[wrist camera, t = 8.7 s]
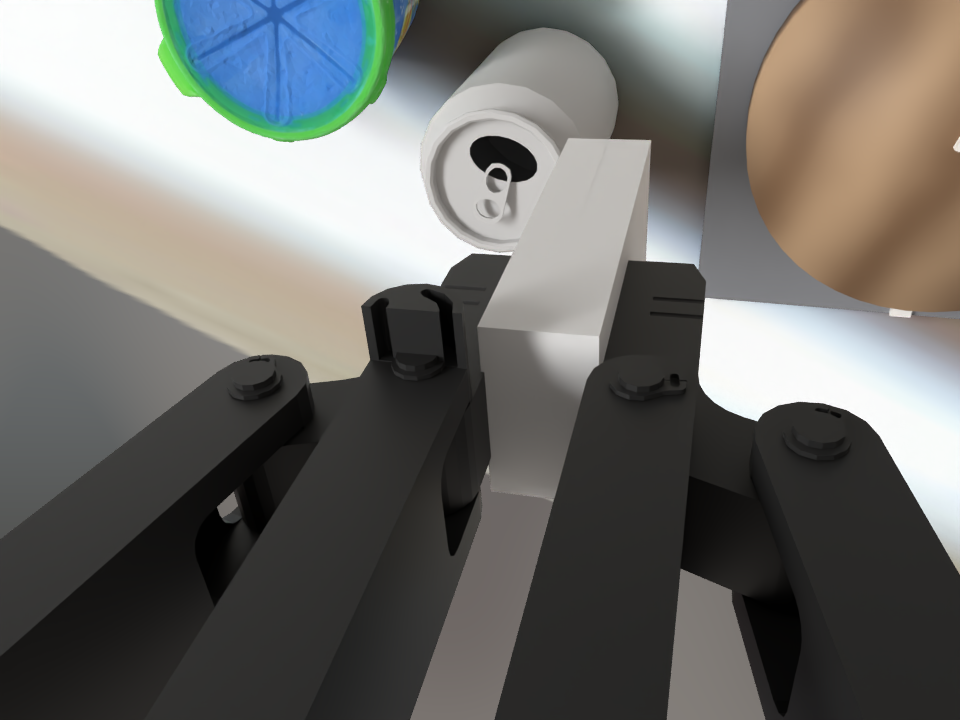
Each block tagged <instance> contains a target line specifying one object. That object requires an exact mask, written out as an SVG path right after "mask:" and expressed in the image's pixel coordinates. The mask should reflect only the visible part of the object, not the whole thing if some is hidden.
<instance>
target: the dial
mask: <svg viewBox="0 0 960 720" xmlns="http://www.w3.org/2000/svg"><path fill="white" fill-rule="evenodd" d="M746 154H747V171H748V176H749V181H750V186H751V191H752V194H753V197H754V200H755V203H756V206H757V209H758V211H759V214H760V216H761V217H762V219H763V221H764V223H765V225H766V227H767V229H768V231H769V232H770V234H771V235H772V237H773V238H774V239H775V241H776V242H777V243H778V245H779V246H780V247H781V249H782V250H783V251H784V252H785V253H786V254H787V255H788V256H789V257H790V258H791V259H792V260H793V261H794V262H795V263H796V264H797V265H798V266H799V267H800V268H802V269H803V270H804V271H805V272H807V273H808V274H809V275H811V276H812V277H813V278H815V279H816V280H818V281H819V282H821V283H823V284H825V285H826V286H828V287H830V288H832V289H833V290H835V291H837V292H840V293H842V294H844V295H847V296H849V297H852V298H854V299H856V300H859V301H863V302H866V303H870V304H874V305H877V306H881V307H886V308H892V309H898V310H904V311H919V312H948V311H960V0H800V1H799V2H798V4H797V5H796V6H795V7H794V8H793V10H792V11H791V12H790V14H789V15H788V17H787V18H786V20H785V21H784V23H783V24H782V26H781V27H780V29H779V30H778V31H777V33H776V35H775V37H774V39H773V41H772V42H771V44H770V46H769V48H768V50H767V52H766V54H765V56H764V58H763V61H762V63H761V66H760V69H759V71H758V74H757V77H756V79H755V82H754V86H753V90H752V94H751V99H750V103H749V108H748V118H747V129H746Z"/></svg>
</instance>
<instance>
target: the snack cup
mask: <svg viewBox="0 0 960 720" xmlns="http://www.w3.org/2000/svg"><path fill="white" fill-rule="evenodd" d="M418 5H419V0H155V7H156V12H157V17H158V21H159V25H160V28H161V31H162V34H163V37H164V38H163V40H162V42H161V44H160V46H159V49H158V56H159V58H160V60H161V62H162V64H163V66H164V68H165V69H166V71H167V73H168V74H169V76H170V78H171V79H172V81H173V82H174V84H175V85H176V87H177V88H178V89H179V90H180V92H181V93H182V94H183V95H185V96H189V97H201V98H202V99H203V100H204V101H205V102H206V103H207V104H208V105H210V106H211V107H212V108H213V109H214V110H215V111H216V112H218V113H219V114H221V115H222V116H223V117H225V118H226V119H228V120H229V121H230V122H232V123H234V124H235V125H237V126H239V127H241V128H243V129H245V130H247V131H250V132H252V133H255V134H258V135H261V136H263V137H268V138H272V139H273V140H276V141H282V142H294V141H300V140H308V139H314V138H319V137H322V136H325V135H328V134H330V133H332V132H334V131H336V130H338V129H340V128H341V127H343V126H344V125H346V124H348V123H349V122H350V121H352V120H353V119H354V118H355V117H357V116H358V115H359V114H360V113H361V112H362V111H363V110H364V109H365V108H366V107H367V106H368V105H369V104H373V103H374V102H375V101H376V100H377V99H378V97H379V95H380V94H381V92H382V90H383V88H384V86H385V85H386V81H387V72H388V69H389V66H390V63H391V59H392V57H393V55H394V53H395V52H396V50H397V48H398V47H399V45H400V43H401V42H402V40H403V38H404V36H405V35H406V33H407V31H408V29H409V27H410V25H411V24H412V21H413V19H414V17H415V14H416V10H417V8H418Z"/></svg>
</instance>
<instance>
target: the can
mask: <svg viewBox="0 0 960 720" xmlns="http://www.w3.org/2000/svg"><path fill="white" fill-rule="evenodd" d="M618 105H619V102H618V95H617V88H616V81H615V79H614V77H613V75H612V73H611V71H610V69H609V67H608V65H607V63H606V61H605V59H604V58H603V57H602V56H601V55H600V54H599V53H598V52H597V51H596V50H595V49H594V48H593V47H592V46H591V44H590V43H589V42H587V41H585V40H583V39H581V38H580V37H578V36H576V35H574V34H572V33H570V32H568V31H565V30H558V29H551V28H545V27H542V28H537V29H531V30H526V31H521V32H519V33H517V34H515V35H513V36H512V37H510V38H508V39H506V40H505V41H503V42H501V43H500V44H499V45H498V46H497V47H496V48H495V49H494V50H493V51H492V53H491V54H490V55H489V56H488V57H487V58H486V59H485V60H484V61H483V62H482V63H481V64H480V65H479V67H478V68H477V69H476V70H475V71H474V72H473V73H472V74H471V75H470V76H469V77H468V78H467V80H466V81H465V82H464V83H463V84H462V85H461V86H460V87H459V88H458V89H457V90H456V91H455V92H454V94H453V95H452V96H451V97H450V98H449V99H448V100H447V101H446V102H445V103H444V105H443V106H442V107H441V108H440V109H439V110H438V112H437V113H436V114H435V115H434V116H433V117H432V119H431V120H430V122H429V125H428V127H427V130H426V132H425V135H424V138H423V140H422V143H421V159H420V171H421V175H422V178H423V182H424V186H425V189H426V193H427V197H428V200H429V204H430V205H431V207H432V209H433V210H434V212H435V213H436V215H437V217H438V218H439V220H440V222H441V223H442V224H443V225H444V226H445V227H446V228H447V229H449V230H450V231H451V232H452V233H453V234H454V235H455V236H456V237H457V238H459V239H461V240H463V241H465V242H467V243H469V244H471V245H473V246H474V247H476V248H479V249H484V250H489V251H494V252H499V253H501V252H511V251H514V250H515V248H516V246H517V243H518V241H519V239H520V237H521V235H522V233H523V231H524V229H525V227H526V225H527V223H528V221H529V219H530V217H531V215H532V212H533V210H534V208H535V206H536V204H537V202H538V200H539V198H540V196H541V194H542V192H543V190H544V188H545V186H546V183H547V181H548V179H549V177H550V175H551V173H552V171H553V169H554V167H555V165H556V163H557V161H558V159H559V157H560V155H561V152H562V150H563V148H564V146H565V144H566V142H567V140H568V138H580V139H610V138H611V135H612V132H613V130H614V127H615V122H616V117H617V111H618Z"/></svg>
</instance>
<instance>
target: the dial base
mask: <svg viewBox="0 0 960 720" xmlns="http://www.w3.org/2000/svg"><path fill="white" fill-rule="evenodd" d="M799 1H800V0H728V2H727V11H726V20H725V29H724V39H723V48H722V57H721V66H720V76H719V85H718V94H717V103H716V113H715V122H714V131H713V141H712V150H711V159H710V168H709V178H708V187H707V196H706V205H705V215H704V224H703V233H702V242H701V252H700V261H699V270H698V271H699V272H700V273H701V275H702V276H703V278H704V279H705V280H706V290H705V298H715V299H727V300H739V301H751V302H763V303H775V304H787V305H799V306H811V307H823V308H835V309H846V310H858V311H870V312H882V313H889V315H890V316H896V317H908V318H910V317H911V315H918V316H930V317H942V318H954V319H960V311H948V312H919V311H904V310H898V309H892V308H886V307H881V306H877V305H874V304H870V303H866V302H863V301H859V300H856V299H854V298H852V297H849V296H847V295H844V294H842V293H840V292H837V291H835V290H833V289H832V288H830V287H828V286H826V285H825V284H823V283H821V282H819V281H818V280H816V279H815V278H813V277H812V276H811V275H809V274H808V273H807V272H805V271H804V270H803V269H802V268H800V267H799V266H798V265H797V264H796V263H795V262H794V261H793V260H792V259H791V258H790V257H789V256H788V255H787V254H786V253H785V252H784V251H783V250H782V249H781V247H780V246H779V245H778V243H777V242H776V241H775V239H774V238H773V237H772V235H771V234H770V232H769V231H768V229H767V227H766V225H765V223H764V221H763V219H762V217H761V216H760V214H759V211H758V209H757V206H756V203H755V200H754V197H753V194H752V191H751V186H750V181H749V176H748V171H747V154H746V129H747V118H748V108H749V103H750V99H751V94H752V90H753V86H754V82H755V79H756V77H757V74H758V71H759V69H760V66H761V63H762V61H763V58H764V56H765V54H766V52H767V50H768V48H769V46H770V44H771V42H772V41H773V39H774V37H775V35H776V33H777V31H778V30H779V29H780V27H781V26H782V24H783V23H784V21H785V20H786V18H787V17H788V15H789V14H790V12H791V11H792V10H793V8H794V7H795V6H796V5H797V4H798V2H799Z"/></svg>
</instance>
